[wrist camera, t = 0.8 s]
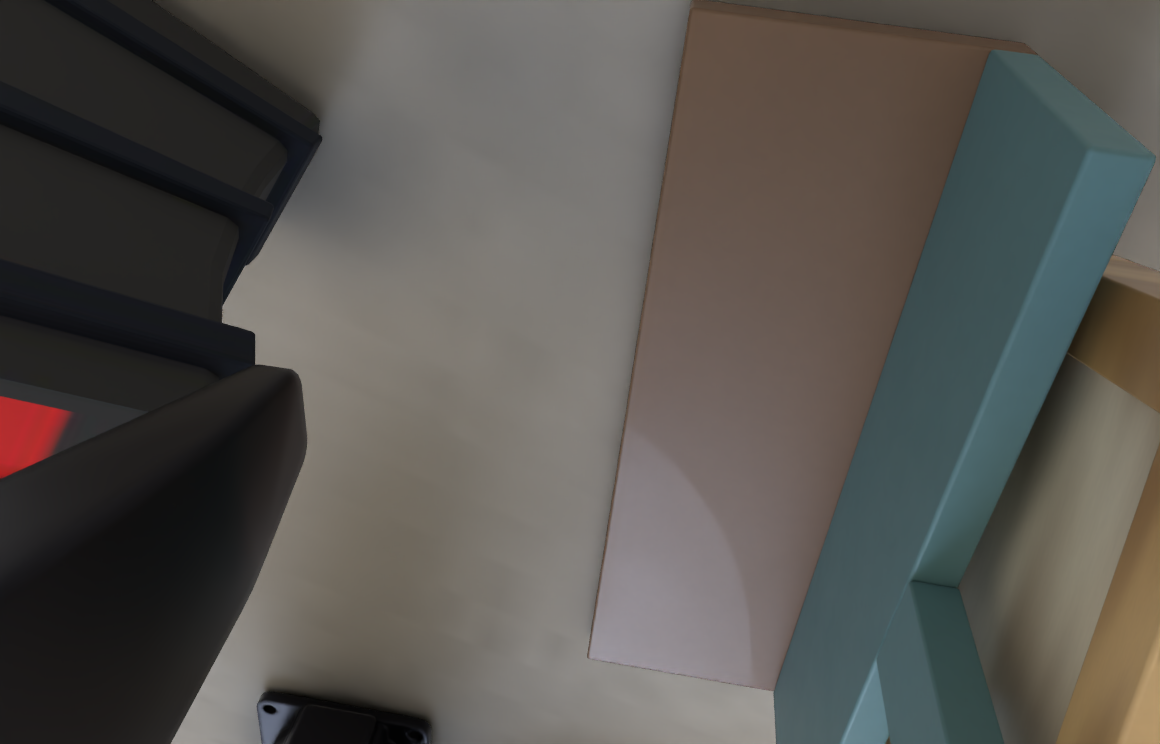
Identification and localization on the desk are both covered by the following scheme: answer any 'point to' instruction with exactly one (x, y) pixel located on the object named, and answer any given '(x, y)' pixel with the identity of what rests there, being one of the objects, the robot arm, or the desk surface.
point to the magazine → (126, 213)
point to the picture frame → (1081, 540)
